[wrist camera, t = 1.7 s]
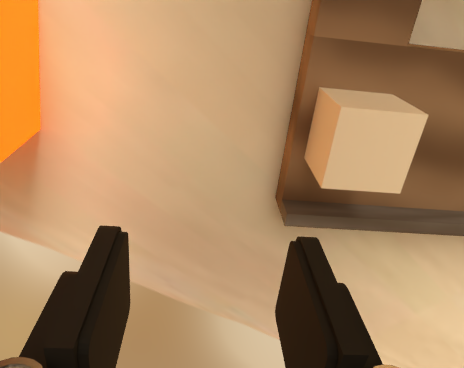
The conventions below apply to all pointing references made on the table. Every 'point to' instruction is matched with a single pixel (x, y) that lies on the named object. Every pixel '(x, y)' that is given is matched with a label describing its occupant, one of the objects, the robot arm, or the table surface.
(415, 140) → the block
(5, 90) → the orange juice
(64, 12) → the table surface
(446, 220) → the board
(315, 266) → the robot arm
